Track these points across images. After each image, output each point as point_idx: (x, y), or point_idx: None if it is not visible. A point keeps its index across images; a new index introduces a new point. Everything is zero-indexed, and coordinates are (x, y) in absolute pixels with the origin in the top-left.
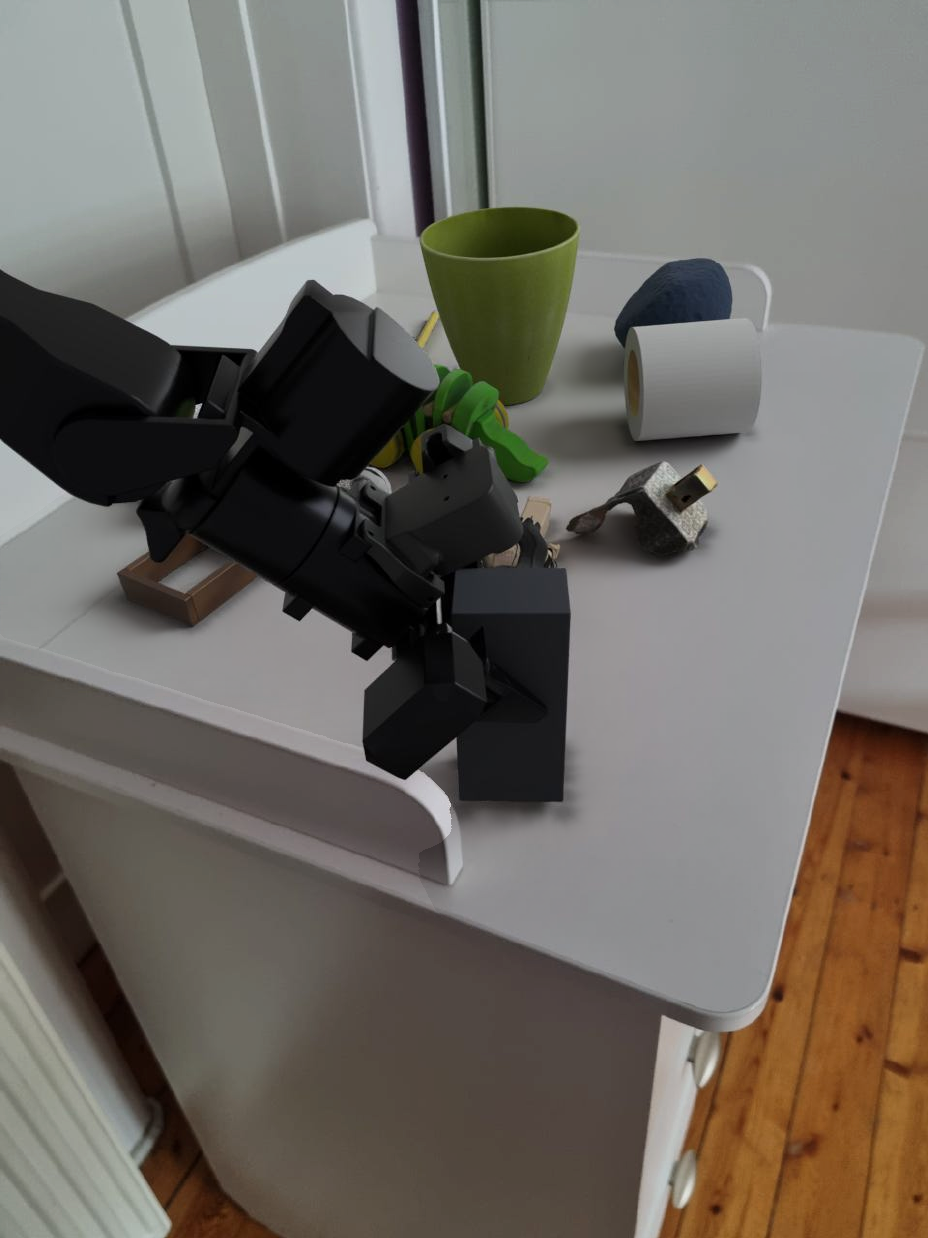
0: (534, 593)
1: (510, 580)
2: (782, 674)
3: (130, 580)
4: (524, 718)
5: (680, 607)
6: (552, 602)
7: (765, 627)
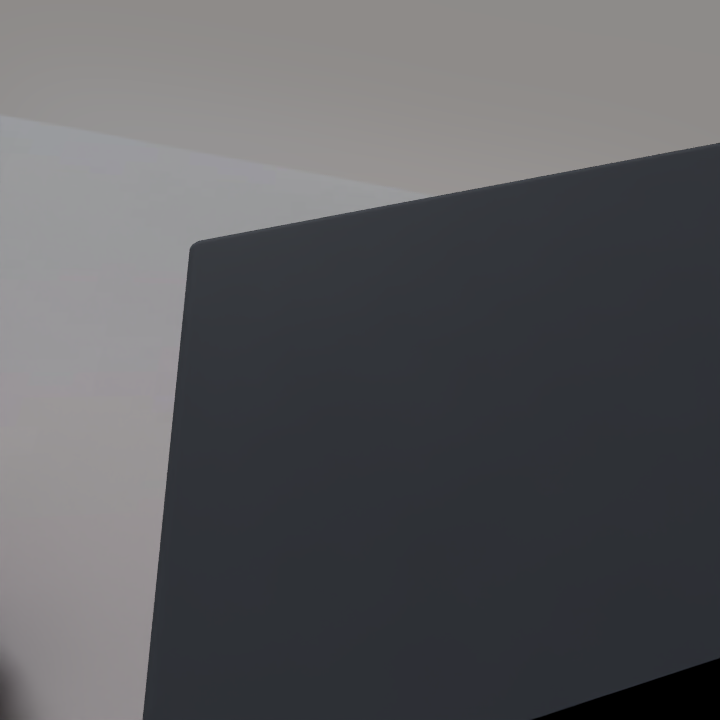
0: (630, 392)
1: (417, 692)
2: (200, 202)
3: None
4: None
5: (13, 324)
6: (710, 245)
7: (95, 215)
